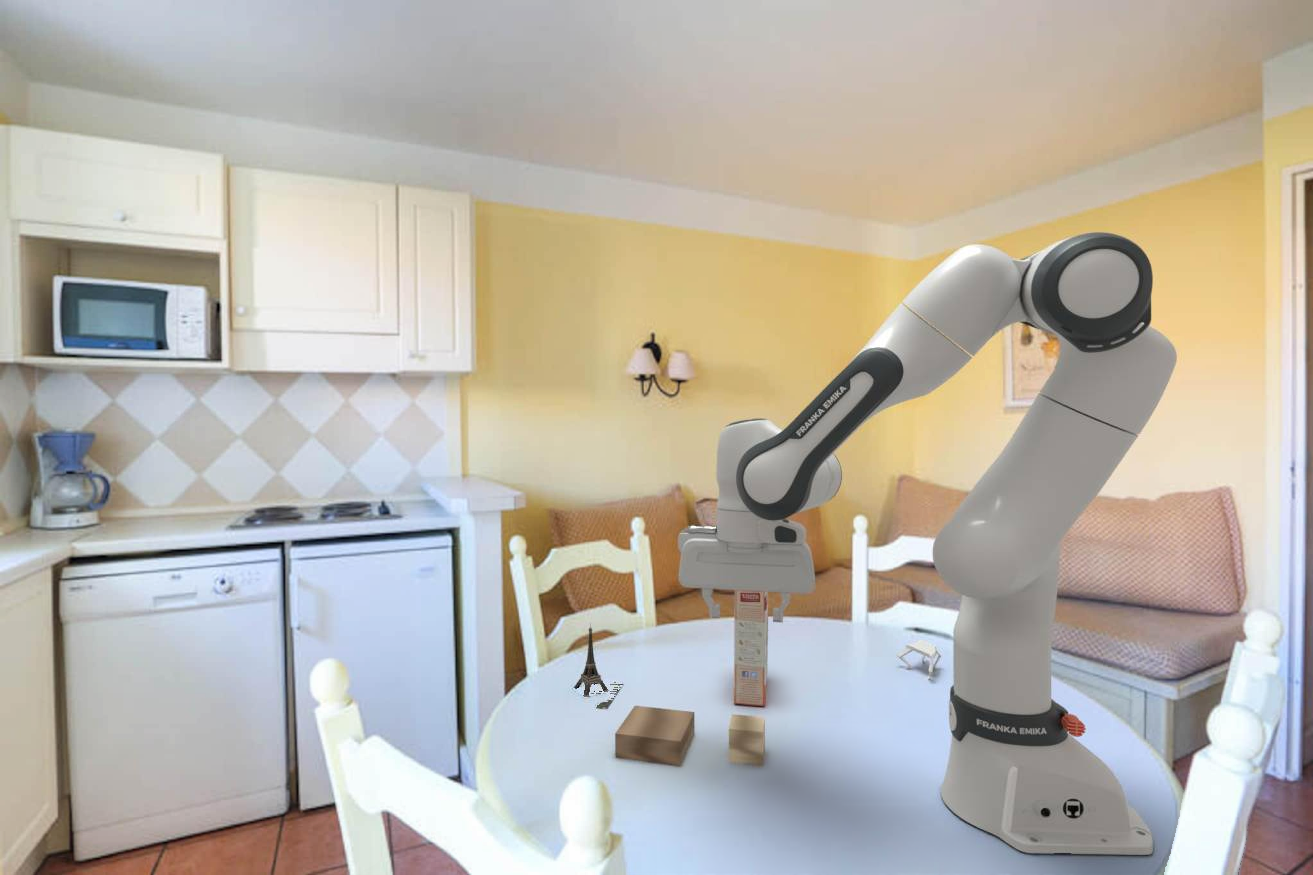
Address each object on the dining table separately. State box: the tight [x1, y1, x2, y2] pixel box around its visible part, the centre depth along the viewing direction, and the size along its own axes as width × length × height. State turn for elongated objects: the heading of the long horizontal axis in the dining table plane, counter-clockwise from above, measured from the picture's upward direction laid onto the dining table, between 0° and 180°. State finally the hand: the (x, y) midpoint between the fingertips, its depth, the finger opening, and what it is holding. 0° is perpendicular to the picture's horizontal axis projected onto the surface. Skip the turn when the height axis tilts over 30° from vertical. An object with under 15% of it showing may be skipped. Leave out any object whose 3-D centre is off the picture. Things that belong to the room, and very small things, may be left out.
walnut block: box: [614, 705, 696, 768], centre depth 96 cm, size 10×10×4 cm
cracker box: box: [733, 590, 769, 707], centre depth 117 cm, size 14×6×21 cm, turn 168°
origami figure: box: [896, 638, 942, 681], centre depth 126 cm, size 12×8×5 cm
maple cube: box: [728, 713, 766, 767], centre depth 93 cm, size 5×5×5 cm
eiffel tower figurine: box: [573, 622, 625, 710], centre depth 117 cm, size 15×10×13 cm
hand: (746, 619), depth 93 cm, fingers open, 8 cm apart
